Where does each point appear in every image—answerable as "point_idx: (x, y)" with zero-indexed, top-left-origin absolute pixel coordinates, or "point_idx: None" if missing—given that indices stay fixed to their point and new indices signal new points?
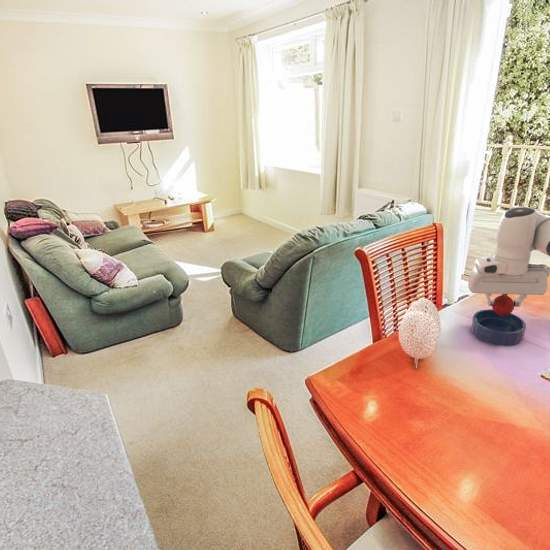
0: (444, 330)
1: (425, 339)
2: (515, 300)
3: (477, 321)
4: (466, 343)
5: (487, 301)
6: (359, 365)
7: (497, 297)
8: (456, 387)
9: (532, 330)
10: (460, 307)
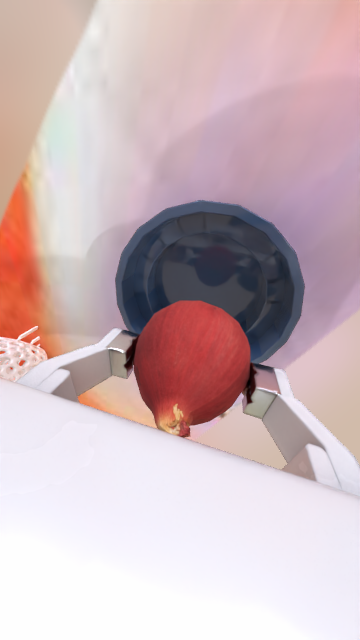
0: (74, 260)
1: (21, 349)
2: (255, 402)
3: (148, 259)
4: (121, 320)
5: (109, 335)
6: None
7: (140, 377)
8: (97, 404)
9: (347, 272)
10: (134, 3)
